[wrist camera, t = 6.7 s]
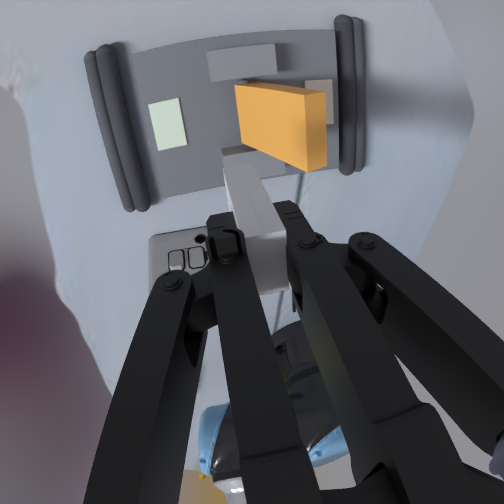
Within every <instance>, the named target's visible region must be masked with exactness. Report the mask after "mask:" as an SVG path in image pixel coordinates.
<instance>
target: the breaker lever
mask: <svg viewBox="0 0 504 504" xmlns="http://www.w3.org/2000/svg"><path fill="white" fill-rule="evenodd" d="M234 87H235V94H236V102H237V110H238V117H239V125H240V133H241V141H242V143H243V144H245V145H248V146H250V147H252V148H255V149H257V150H259V151H262V152H264V153H266V154H268V155H271V156H273V157H275V158H277V159H279V160H282V161H284V162H286V163H288V164H290V165H292V166H294V167H297V168H299V169H301V170H303V171H305V172H307V173H308V172H311V171H314V170H317V169H320V168H323V167H326V166H327V131H326V100H325V92H322V91H317V90H311V89H305V88H299V87H292V86H286V85H278V84H270V83H262V82H250V79H243V80H238V81H237V84H236V85H234Z"/></svg>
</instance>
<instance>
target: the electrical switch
mask: <svg viewBox="0 0 504 504" xmlns="http://www.w3.org/2000/svg"><path fill="white" fill-rule="evenodd" d="M207 236H208V234H207V227H202V228H196V229H190V230H184V231H178V232H173V233H167V234H161V235H155V236H152V237H151V238H150V239H149V295H150V292H151V290H152V287H153V285H154V283H155V281H156V280H157V278H158V277H159V276H161V275H162V274H163V273H166V272H168V271H171V270H177V269H178V270H184V271H186V272H188V273H189V274H190V275H192V274H194V273H196V272H198V271H200V270H202V269H203V268H204V267H205V266H206V265H207V264H208V263H209V257H208V253H207V249H206V245H205V239H206V237H207Z"/></svg>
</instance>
